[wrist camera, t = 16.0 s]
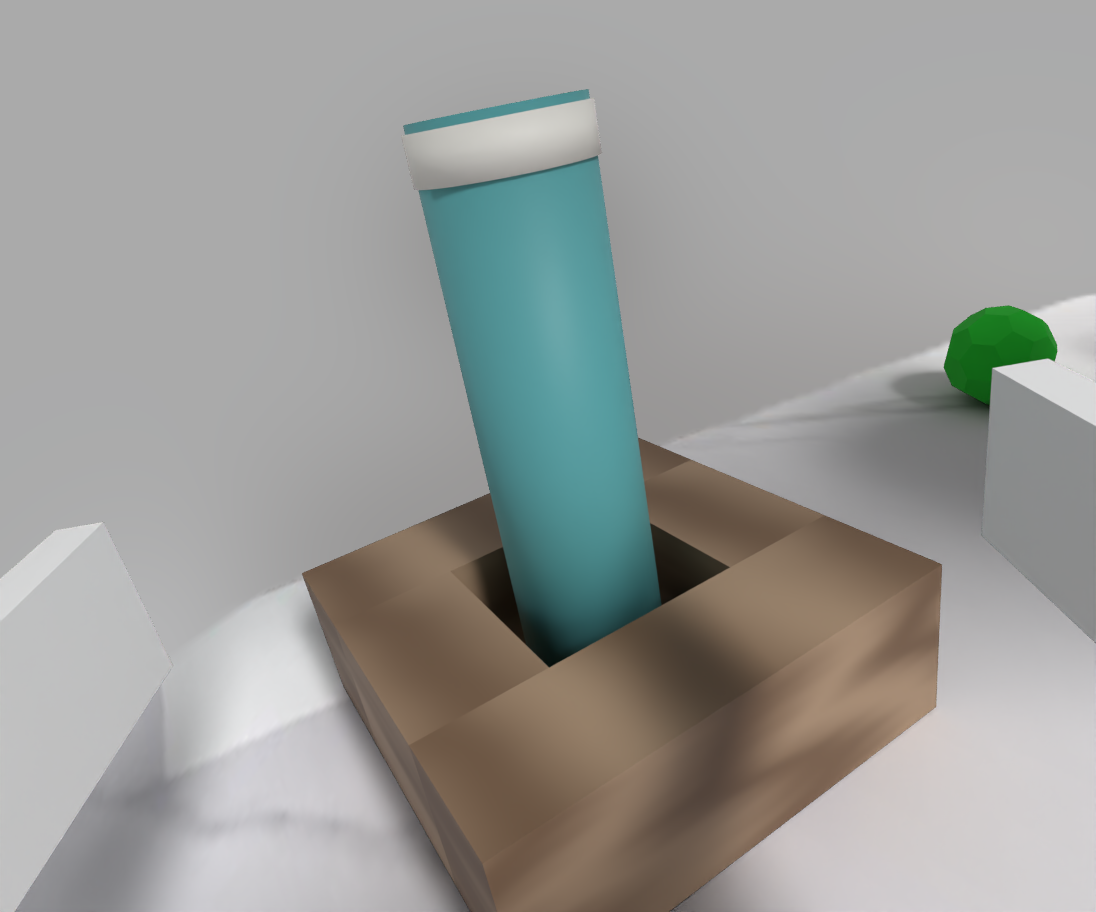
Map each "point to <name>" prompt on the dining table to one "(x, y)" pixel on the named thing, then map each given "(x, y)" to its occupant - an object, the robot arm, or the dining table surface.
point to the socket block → (631, 691)
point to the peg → (542, 358)
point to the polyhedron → (995, 347)
